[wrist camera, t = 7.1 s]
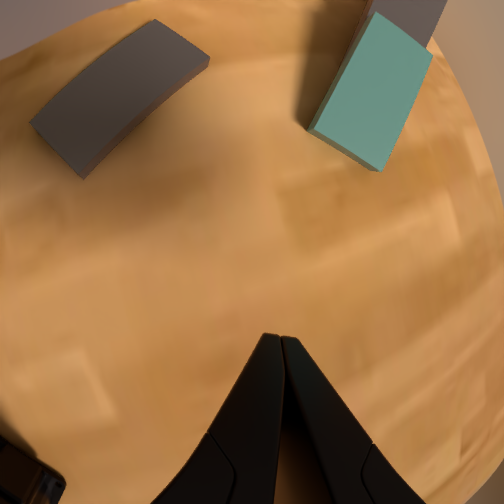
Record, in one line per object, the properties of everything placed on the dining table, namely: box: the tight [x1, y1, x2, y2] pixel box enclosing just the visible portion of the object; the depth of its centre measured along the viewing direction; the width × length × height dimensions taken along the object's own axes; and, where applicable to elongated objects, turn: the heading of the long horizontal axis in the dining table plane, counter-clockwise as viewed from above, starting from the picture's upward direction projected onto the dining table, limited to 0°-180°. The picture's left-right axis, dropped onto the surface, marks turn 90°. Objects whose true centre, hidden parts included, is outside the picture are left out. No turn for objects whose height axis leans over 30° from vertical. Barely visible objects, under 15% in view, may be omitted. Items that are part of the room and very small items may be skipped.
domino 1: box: [29, 19, 210, 180], centre depth 15 cm, size 10×5×2 cm, turn 139°
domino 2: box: [337, 0, 433, 73], centre depth 17 cm, size 2×5×10 cm
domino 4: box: [409, 0, 447, 49], centre depth 17 cm, size 2×5×10 cm
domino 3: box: [307, 12, 433, 172], centre depth 17 cm, size 2×5×10 cm
